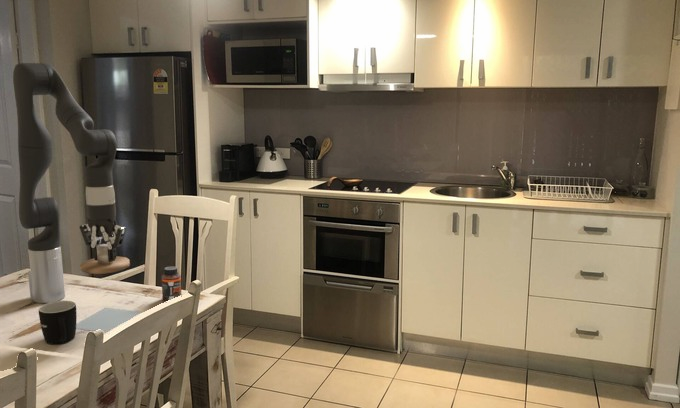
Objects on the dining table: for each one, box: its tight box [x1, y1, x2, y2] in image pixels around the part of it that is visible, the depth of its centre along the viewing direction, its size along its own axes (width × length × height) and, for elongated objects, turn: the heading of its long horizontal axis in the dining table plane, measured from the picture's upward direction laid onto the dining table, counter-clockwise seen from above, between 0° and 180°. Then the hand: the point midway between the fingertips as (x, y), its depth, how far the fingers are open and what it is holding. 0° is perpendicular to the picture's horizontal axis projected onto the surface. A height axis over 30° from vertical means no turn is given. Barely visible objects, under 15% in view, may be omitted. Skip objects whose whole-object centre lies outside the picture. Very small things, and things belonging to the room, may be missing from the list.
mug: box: [38, 300, 77, 346], centre depth 150 cm, size 12×9×10 cm
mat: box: [76, 307, 143, 333], centre depth 165 cm, size 16×16×1 cm
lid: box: [79, 243, 131, 275], centre depth 161 cm, size 13×13×6 cm
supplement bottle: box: [161, 266, 182, 303], centre depth 181 cm, size 6×6×11 cm
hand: (105, 260), depth 161 cm, fingers closed on lid, 4 cm apart
